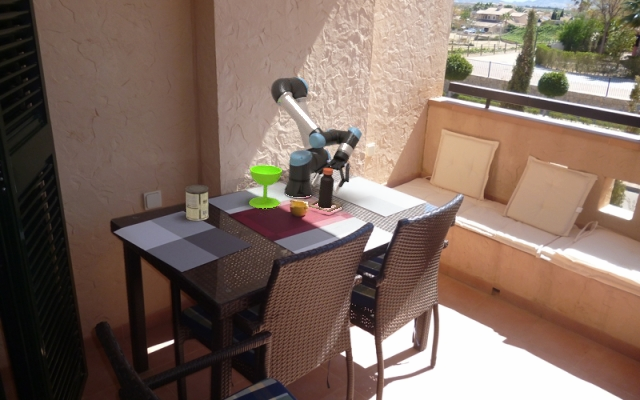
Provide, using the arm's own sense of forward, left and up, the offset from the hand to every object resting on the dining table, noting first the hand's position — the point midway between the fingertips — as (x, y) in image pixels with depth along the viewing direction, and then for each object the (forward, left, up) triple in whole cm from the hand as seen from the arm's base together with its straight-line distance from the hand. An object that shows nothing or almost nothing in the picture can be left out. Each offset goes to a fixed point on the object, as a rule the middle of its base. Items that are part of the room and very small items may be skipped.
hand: (323, 188), depth 255 cm
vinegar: (0, +2, -11) cm, 11 cm away
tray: (0, +2, -12) cm, 12 cm away
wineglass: (-27, -13, -12) cm, 32 cm away
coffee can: (-38, -49, -12) cm, 63 cm away
